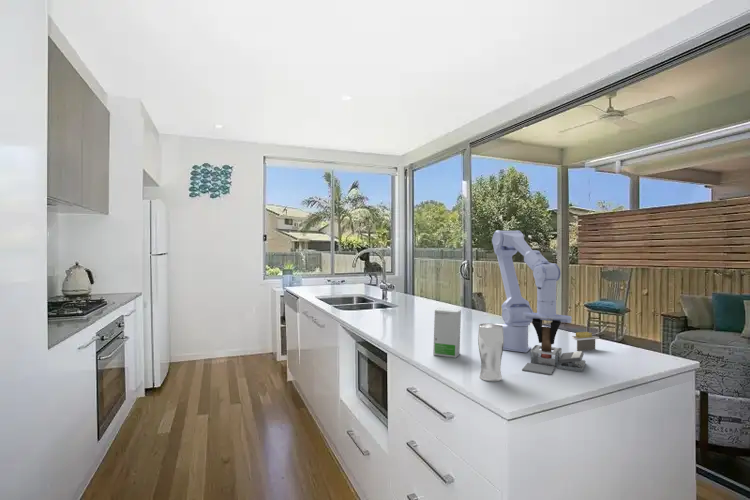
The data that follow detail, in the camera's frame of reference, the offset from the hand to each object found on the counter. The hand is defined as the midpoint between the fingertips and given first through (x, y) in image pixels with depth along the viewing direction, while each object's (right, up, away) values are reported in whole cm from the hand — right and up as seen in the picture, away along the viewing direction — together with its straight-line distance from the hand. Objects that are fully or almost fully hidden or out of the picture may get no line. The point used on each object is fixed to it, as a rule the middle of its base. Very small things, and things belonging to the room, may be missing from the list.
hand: (546, 342), depth 131 cm
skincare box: (-31, -6, +9) cm, 32 cm away
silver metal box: (+2, -6, -3) cm, 7 cm away
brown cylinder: (0, -3, 0) cm, 3 cm away
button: (0, -5, 0) cm, 5 cm away
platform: (+20, -7, +15) cm, 26 cm away
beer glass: (-23, -6, -16) cm, 29 cm away
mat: (-6, -6, -8) cm, 12 cm away
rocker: (+6, -3, -5) cm, 8 cm away
